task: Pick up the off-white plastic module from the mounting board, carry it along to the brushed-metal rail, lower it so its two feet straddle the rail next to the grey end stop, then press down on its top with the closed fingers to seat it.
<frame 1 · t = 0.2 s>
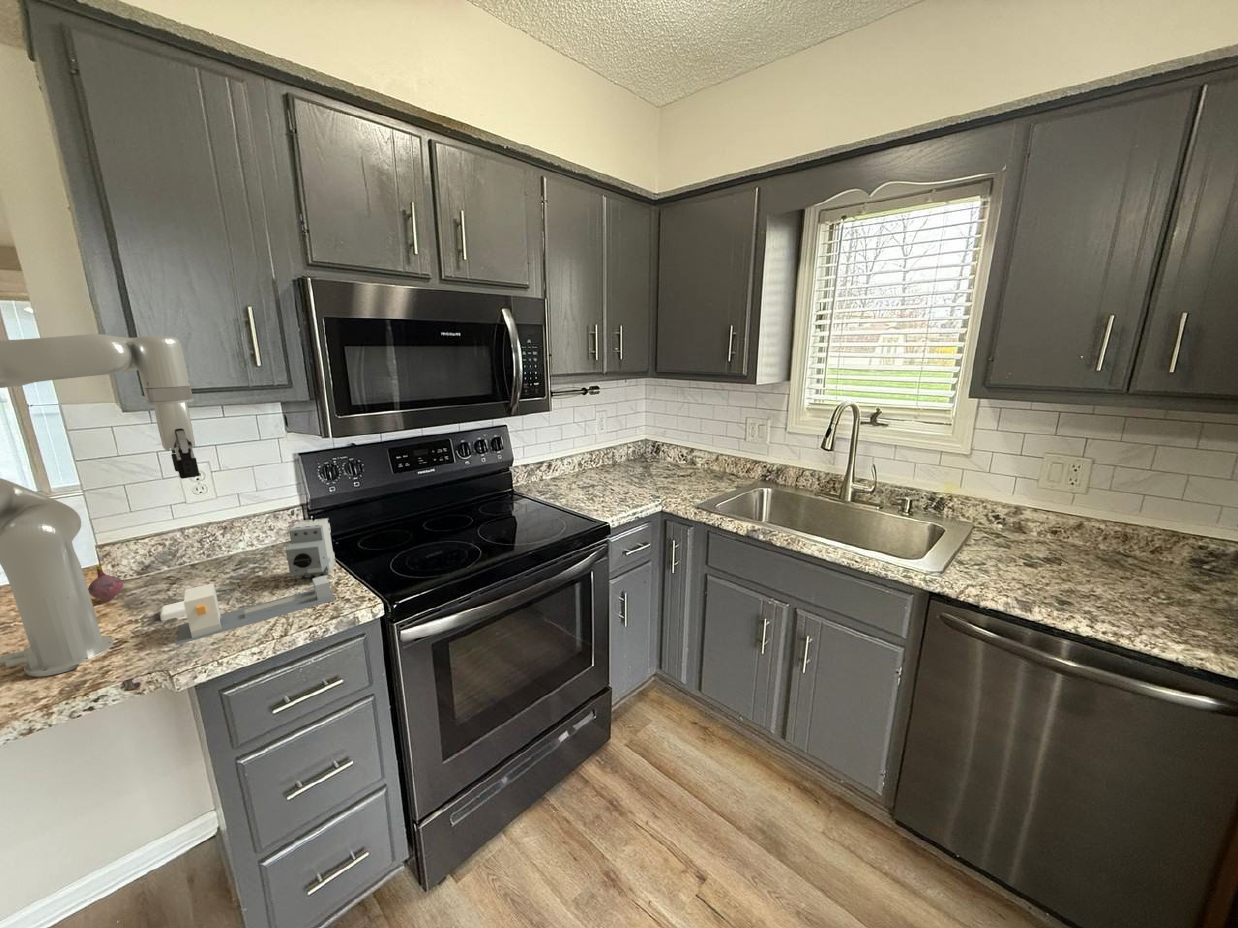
hand: (187, 473, 109), 36 cm above the worktop, tool pointing down, fingers open, 9 cm apart
soap: (187, 615, 120), on the worktop
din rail: (283, 605, 121), resting on mounting board
mounting board: (261, 615, 118), on the worktop
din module: (207, 626, 112), point 1 cm above the worktop, touching mounting board
end stop: (323, 594, 126), resting on mounting board
vegetable: (109, 601, 127), on the worktop
circuit breaker: (314, 579, 137), on the worktop
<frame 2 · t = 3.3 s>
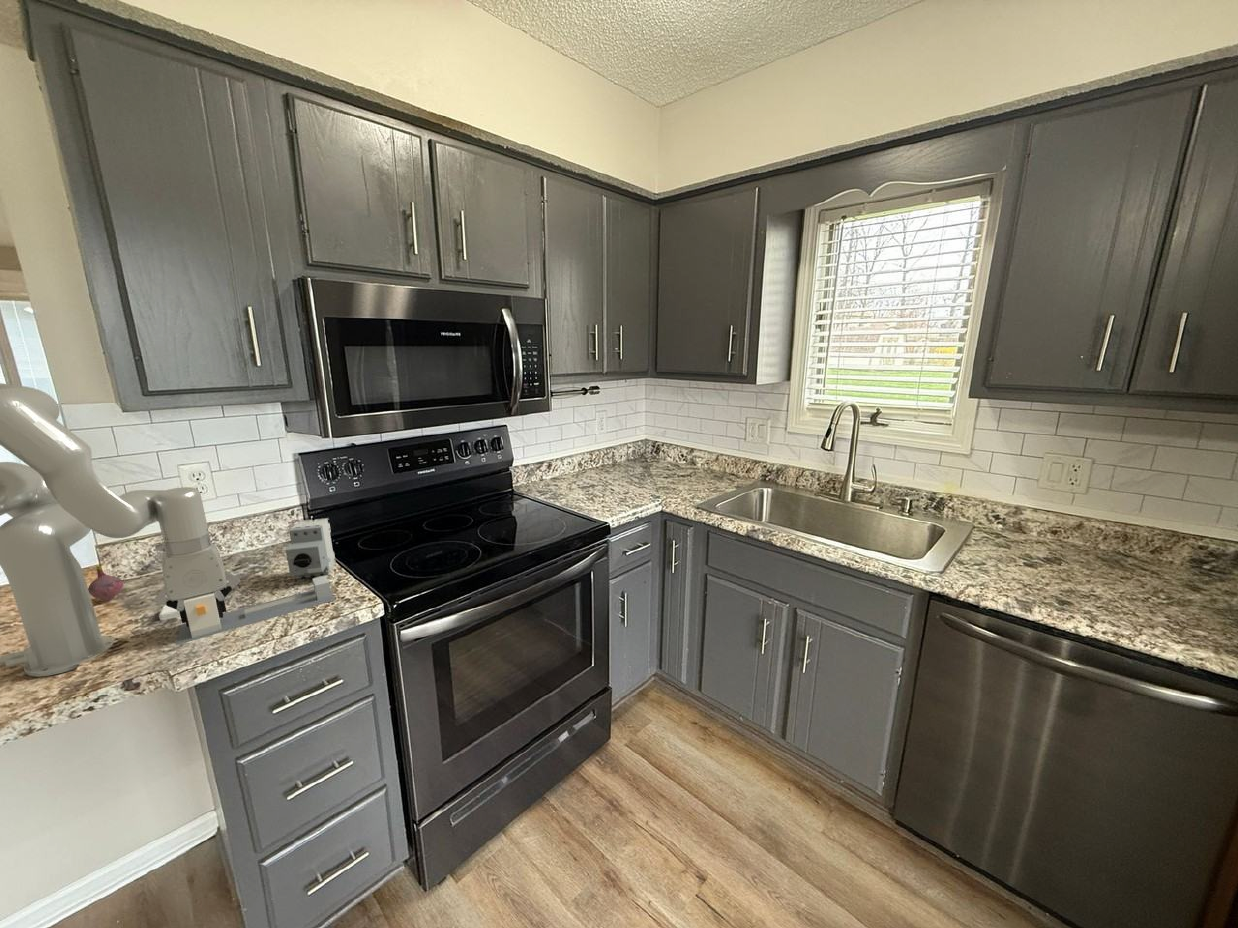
hand: (205, 618, 111), 3 cm above the worktop, tool pointing down, fingers closed on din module, 5 cm apart
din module: (207, 626, 112), point 1 cm above the worktop, touching gripper, mounting board
everything else where it was.
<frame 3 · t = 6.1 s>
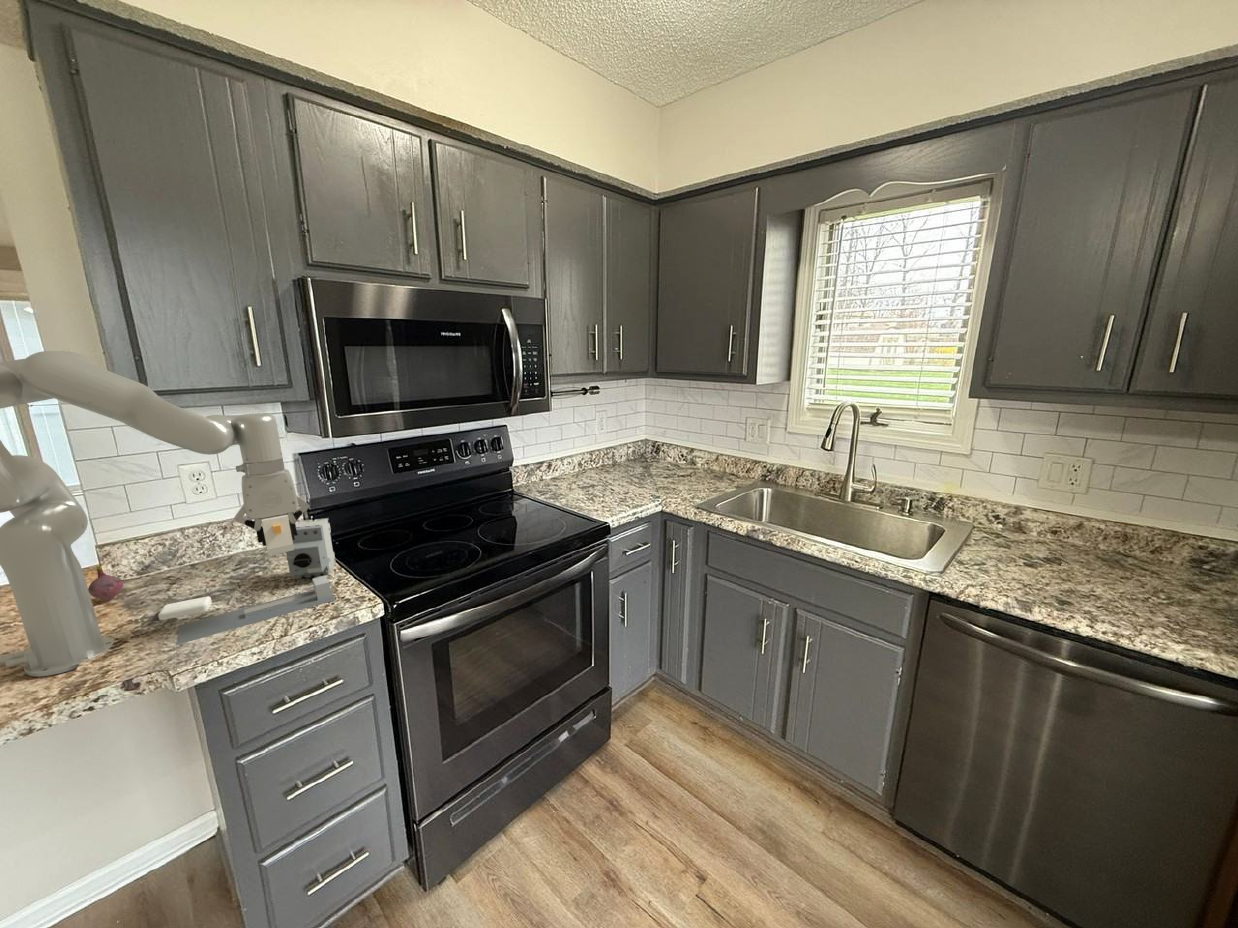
hand: (278, 540, 118), 18 cm above the worktop, tool pointing down, fingers closed on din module, 5 cm apart
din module: (279, 548, 118), point 16 cm above the worktop, touching gripper
everything else where it was.
when the fingers open (4 cm above the worktop, at t = 9.0 s): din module drops 1 cm, resting on mounting board.
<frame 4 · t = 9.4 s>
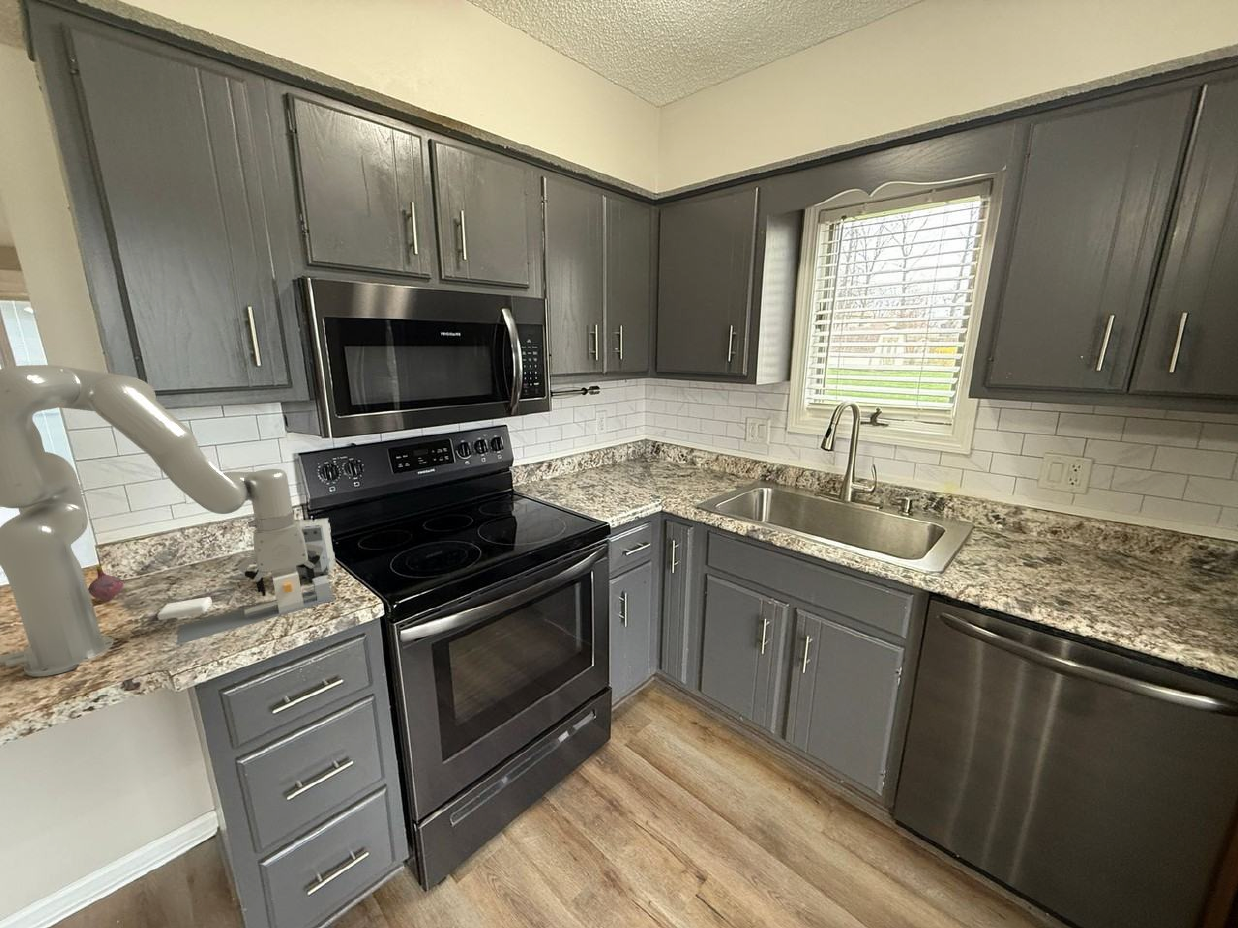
hand: (287, 587, 120), 5 cm above the worktop, tool pointing down, fingers open, 9 cm apart
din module: (290, 603, 121), point 1 cm above the worktop, touching mounting board
everything else where it was.
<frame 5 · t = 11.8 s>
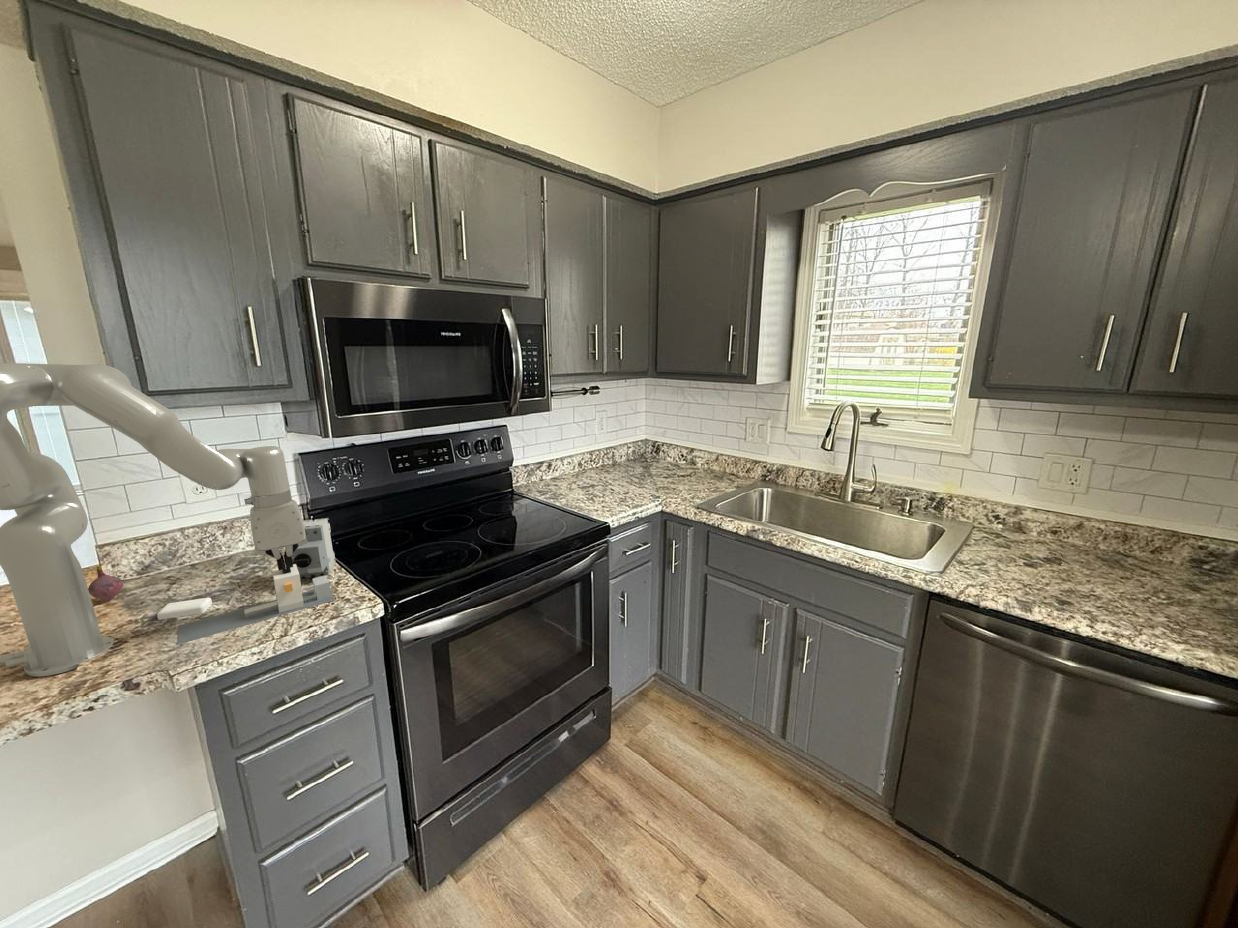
hand: (286, 571, 120), 10 cm above the worktop, tool pointing down, fingers closed
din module: (290, 603, 121), point 1 cm above the worktop, touching gripper, mounting board
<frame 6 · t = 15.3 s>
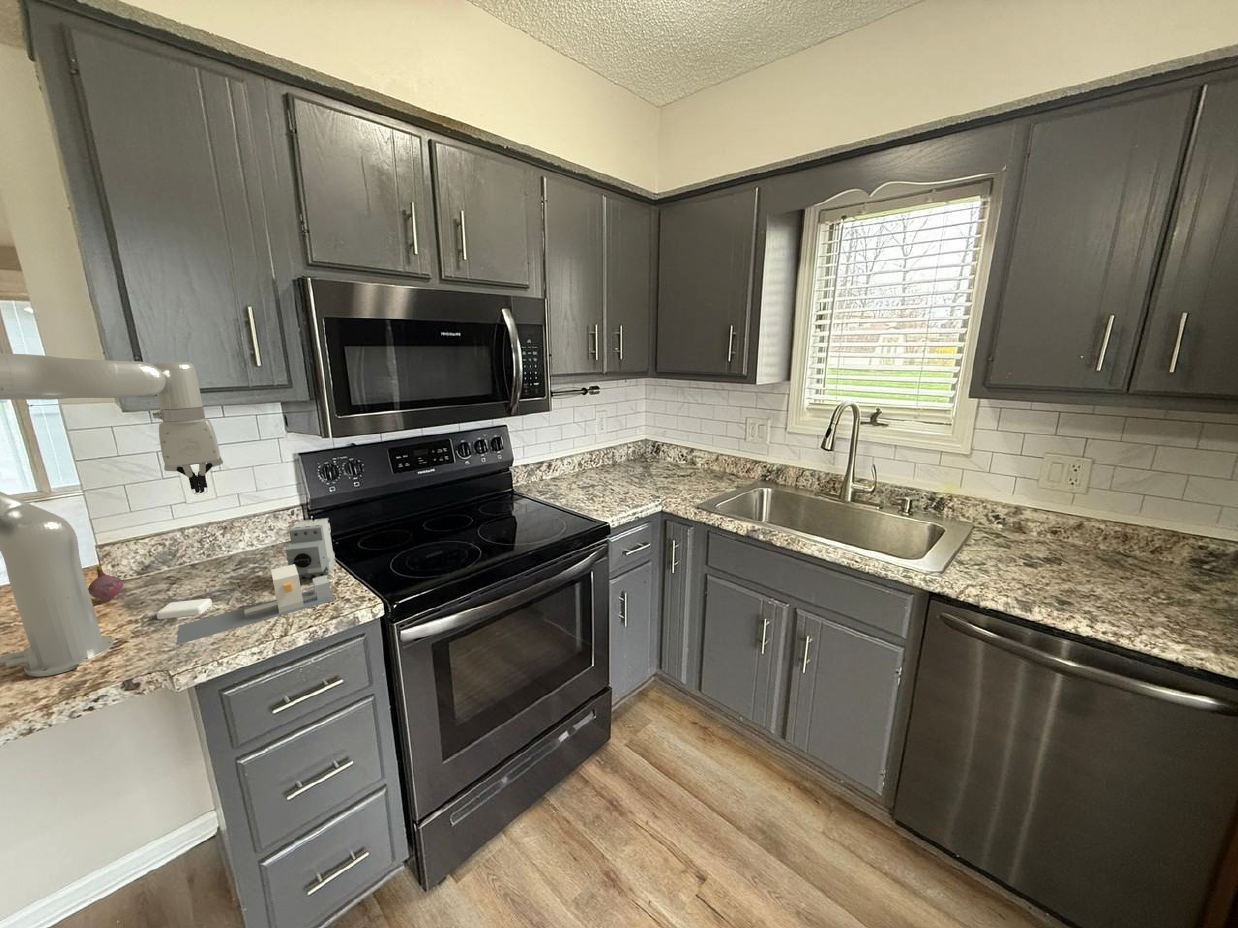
hand: (200, 491, 119), 29 cm above the worktop, tool pointing down, fingers closed
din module: (290, 603, 121), point 1 cm above the worktop, touching mounting board
at the end: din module 0.1 cm from the target spot, point 1.0 cm above the worktop; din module tilted 0°; the gripper is holding nothing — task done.
